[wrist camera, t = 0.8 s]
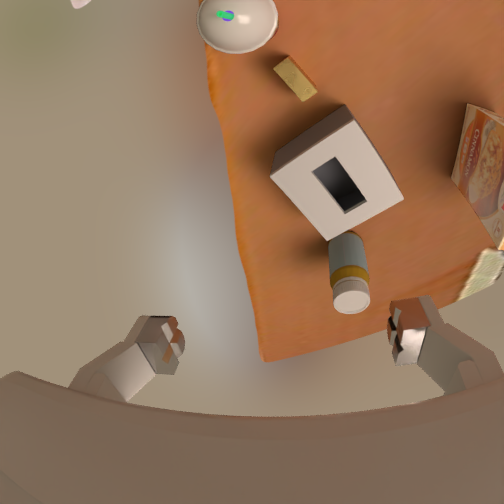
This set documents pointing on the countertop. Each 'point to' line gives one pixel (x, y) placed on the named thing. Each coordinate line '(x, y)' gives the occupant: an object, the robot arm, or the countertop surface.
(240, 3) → the smoothie
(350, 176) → the coin box
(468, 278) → the countertop surface
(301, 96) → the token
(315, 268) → the countertop surface
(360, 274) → the bottle
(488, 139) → the coffeecake box
